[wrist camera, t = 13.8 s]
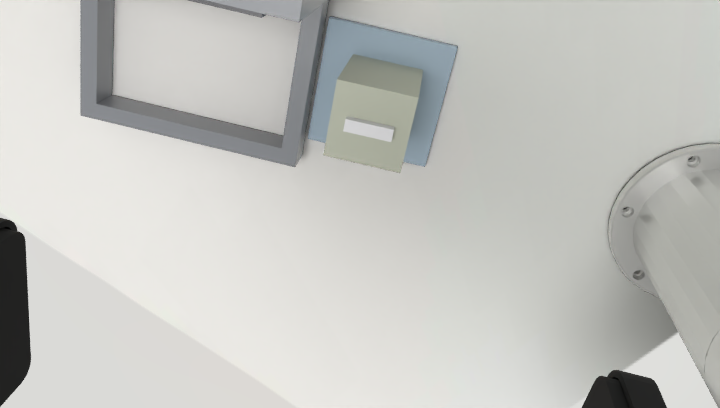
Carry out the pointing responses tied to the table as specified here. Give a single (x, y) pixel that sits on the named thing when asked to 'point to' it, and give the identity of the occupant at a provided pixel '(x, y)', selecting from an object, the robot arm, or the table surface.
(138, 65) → the table surface
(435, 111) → the pad
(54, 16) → the table surface
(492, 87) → the table surface
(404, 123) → the block
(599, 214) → the table surface
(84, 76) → the case
